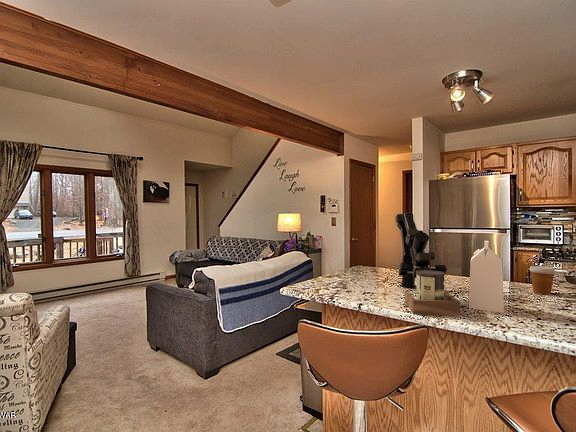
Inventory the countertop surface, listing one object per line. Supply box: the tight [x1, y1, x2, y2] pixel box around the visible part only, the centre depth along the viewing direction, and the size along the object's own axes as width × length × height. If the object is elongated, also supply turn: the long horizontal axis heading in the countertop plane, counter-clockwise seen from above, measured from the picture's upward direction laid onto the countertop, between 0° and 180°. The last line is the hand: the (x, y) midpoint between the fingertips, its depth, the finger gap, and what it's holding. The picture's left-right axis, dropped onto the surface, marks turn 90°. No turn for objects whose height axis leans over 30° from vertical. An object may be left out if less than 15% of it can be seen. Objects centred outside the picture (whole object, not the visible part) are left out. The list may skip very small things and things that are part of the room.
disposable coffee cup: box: [528, 265, 557, 296], centre depth 148 cm, size 10×10×12 cm
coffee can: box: [415, 270, 446, 300], centre depth 126 cm, size 10×10×14 cm
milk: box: [468, 240, 505, 314], centre depth 128 cm, size 12×12×26 cm
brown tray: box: [404, 290, 461, 317], centre depth 125 cm, size 14×16×5 cm
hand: (425, 287), depth 132 cm, fingers closed, pressing on coffee can
